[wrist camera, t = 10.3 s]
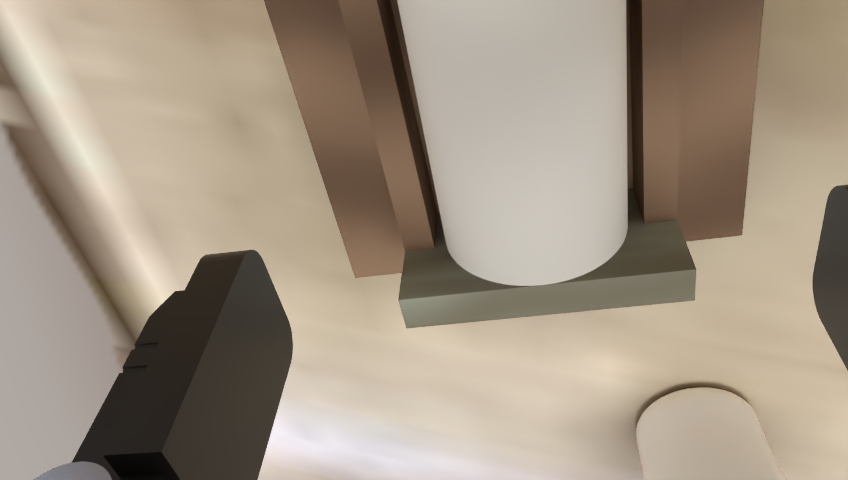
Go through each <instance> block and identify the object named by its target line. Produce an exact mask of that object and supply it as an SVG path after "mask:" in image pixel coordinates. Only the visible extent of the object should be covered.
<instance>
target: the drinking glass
mask: <svg viewBox="0 0 848 480" xmlns="http://www.w3.org/2000/svg"><path fill="white" fill-rule="evenodd" d="M636 440H637V446H638V451H639V456H640V460H641V465H642V470H643V478H644V480H786V479H785V477H784V475H783V473H782V471H781V469H780V467H779V465H778V463H777V461H776V459H775V457H774V455H773V453H772V451H771V448H770V446H769V444H768V441H767V439H766V436H765V434H764V431H763V429H762V426H761V424H760V421H759V419H758V417H757V415H756V413H755V411H754V410H753V408H752V407H751V406H750V405H749V404H748V403H747V402H746V401H745V400H744V399H742V398H741V397H739V396H738V395H736V394H734V393H731V392H729V391H726V390H722V389H717V388H709V387H697V388H688V389H683V390H679V391H675V392H672V393H670V394H667V395H665V396H663V397H661V398H659V399H658V400H656V401H655V402H653V403H652V404H651V405H650V406H649V407H648V408H647V409H646V410H645V411H644V412H643V414H642V415H641V417H640V419H639V421H638V424H637V428H636Z"/></svg>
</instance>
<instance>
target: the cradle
mask: <svg viewBox="0 0 848 480" xmlns="http://www.w3.org/2000/svg"><path fill="white" fill-rule="evenodd" d="M264 2H265V5H266V8H267V11H268V14H269V17H270V20H271V23H272V26H273V29H274V32H275V35H276V38H277V41H278V44H279V47H280V50H281V53H282V56H283V59H284V62H285V66H286V69H287V72H288V75H289V78H290V81H291V84H292V87H293V90H294V93H295V96H296V99H297V102H298V105H299V108H300V111H301V114H302V117H303V120H304V123H305V126H306V129H307V132H308V135H309V139H310V142H311V145H312V148H313V151H314V154H315V157H316V160H317V163H318V166H319V169H320V172H321V175H322V178H323V181H324V184H325V187H326V190H327V193H328V196H329V199H330V202H331V205H332V208H333V212H334V215H335V218H336V221H337V224H338V227H339V230H340V233H341V236H342V239H343V242H344V245H345V248H346V251H347V254H348V257H349V260H350V263H351V266H352V269H353V272H354V275H355V278H359V277H368V276H377V275H386V274H395V273H402V278H401V285H400V293H399V304H400V307H401V311H402V314H403V318H404V321H405V325H406V328H414V327H425V326H435V325H445V324H456V323H466V322H476V321H487V320H497V319H507V318H518V317H528V316H538V315H549V314H559V313H569V312H580V311H590V310H600V309H611V308H621V307H631V306H642V305H652V304H662V303H672V302H683V301H693V300H695V282H696V268H695V265H694V262H693V260H692V257H691V255H690V252H689V249H688V247H687V244H686V242H685V241H694V240H703V239H712V238H721V237H730V236H739V235H742V229H743V218H744V208H745V197H746V186H747V176H748V165H749V154H750V143H751V133H752V122H753V111H754V100H755V90H756V79H757V68H758V58H759V47H760V36H761V25H762V15H763V4H764V0H626V49H627V188H628V230H627V235H626V238H625V240H624V242H623V244H622V246H621V247H620V248H619V250H618V251H617V252H616V253H615V254H614V255H613V256H612V257H611V258H610V259H609V260H608V261H606V262H605V263H604V264H603V265H601V266H599V267H598V268H596V269H594V270H593V271H590V272H588V273H586V274H584V275H582V276H579V277H576V278H573V279H570V280H567V281H563V282H559V283H553V284H547V285H537V286H516V285H506V284H501V283H495V282H492V281H488V280H485V279H482V278H480V277H477V276H475V275H473V274H471V273H470V272H468V271H466V270H465V269H463V268H462V267H461V266H460V265H458V264H457V263H456V261H455V260H454V259H453V258H452V256H451V255H450V253H449V251H448V248H447V245H446V241H445V236H444V231H443V226H442V221H441V216H440V211H439V206H438V201H437V196H436V191H435V186H434V181H433V176H432V171H431V166H430V162H429V157H428V152H427V147H426V142H425V137H424V132H423V127H422V122H421V117H420V112H419V107H418V102H417V97H416V92H415V87H414V82H413V77H412V72H411V67H410V62H409V57H408V52H407V47H406V42H405V37H404V32H403V27H402V22H401V17H400V12H399V7H398V2H397V0H264Z"/></svg>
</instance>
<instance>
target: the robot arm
mask: <svg viewBox="0 0 848 480" xmlns="http://www.w3.org/2000/svg"><path fill="white" fill-rule="evenodd" d="M813 295H814V301H815V305H816V309H817V312H818V315H819V317H820V319H821V321H822V323H823V325H824V327H825V329H826V331H827V333H828V335H829V336H830V338H831V340H832V342H833V344H834V346H835V348H836V349H837V351H838V353H839V355H840V357H841V359H842V361H843V362H844V364H845V366H846V368H847V370H848V185H842V186H836V187H834V188H833V189H832V190H831V192H830V194H829V196H828V199H827V204H826V209H825V214H824V220H823V225H822V230H821V235H820V241H819V246H818V251H817V256H816V262H815V267H814V272H813ZM292 350H293V342H292V332H291V327H290V324H289V321H288V318H287V316H286V314H285V311H284V309H283V306H282V304H281V302H280V299H279V297H278V295H277V292H276V290H275V288H274V285H273V283H272V280H271V278H270V276H269V273H268V271H267V269H266V266H265V264H264V262H263V259H262V258H261V256H260V255H259V253H258V252H256V251H255V250H246V251H237V252H228V253H219V254H210V255H205V256H203V257H202V258H201V259H200V261H199V263H198V265H197V267H196V269H195V271H194V273H193V275H192V277H191V279H190V281H189V283H188V285H187V287H186V289H185V290H184V291H175V292H174V293H173V294H172V295H171V296H170V297H169V298H168V299H167V300H166V301H165V302H164V303H163V304H162V305H161V306H160V307H159V308H158V309H157V310H156V311H155V312H154V313H153V314H152V315H151V316H150V317H149V319H148V321H147V322H146V324H145V326H144V328H143V330H142V332H141V334H140V336H139V337H138V339H137V341H136V343H135V350H132V351H131V352H130V354H129V356H128V358H127V360H126V362H125V364H124V366H123V373H119V375H118V377H117V379H116V381H115V383H114V384H113V386H112V388H111V390H110V392H109V394H108V396H107V398H106V399H105V402H104V403H103V405H102V407H101V409H100V411H99V413H98V414H97V416H96V418H95V420H94V422H93V424H92V426H91V428H90V429H89V431H88V433H87V435H86V437H85V439H84V441H83V442H82V444H81V446H80V448H79V450H78V452H77V454H76V456H75V457H74V459H73V461H72V463H69V464H65V465H61V466H59V467H56V468H53V469H51V470H49V471H47V472H46V473H43V474H42V475H40V476H39V477H37V478H35V479H34V480H257V479H258V475H259V472H260V468H261V465H262V461H263V458H264V455H265V451H266V448H267V444H268V441H269V437H270V434H271V430H272V427H273V423H274V420H275V416H276V413H277V409H278V406H279V402H280V399H281V395H282V392H283V388H284V385H285V381H286V378H287V374H288V371H289V367H290V364H291V359H292Z"/></svg>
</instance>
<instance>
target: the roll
mask: <svg viewBox="0 0 848 480" xmlns="http://www.w3.org/2000/svg"><path fill="white" fill-rule="evenodd" d="M397 2H398V7H399V12H400V17H401V22H402V27H403V32H404V37H405V42H406V47H407V52H408V57H409V62H410V67H411V72H412V77H413V82H414V87H415V92H416V97H417V102H418V107H419V112H420V117H421V122H422V127H423V132H424V137H425V142H426V147H427V152H428V157H429V162H430V166H431V171H432V176H433V181H434V186H435V191H436V196H437V201H438V206H439V211H440V216H441V221H442V226H443V231H444V236H445V241H446V245H447V248H448V251H449V253H450V255H451V256H452V258H453V259H454V260H455V261H456V263H457V264H458V265H460V266H461V267H462V268H463V269H465V270H466V271H468V272H470V273H471V274H473V275H475V276H477V277H480V278H482V279H485V280H488V281H492V282H495V283H501V284H506V285H516V286H537V285H547V284H553V283H559V282H563V281H567V280H570V279H573V278H576V277H579V276H582V275H584V274H586V273H588V272H590V271H593V270H594V269H596V268H598V267H599V266H601V265H603V264H604V263H605V262H606V261H608V260H609V259H610V258H611V257H612V256H613V255H614V254H615V253H616V252H617V251H618V250H619V248H620V247H621V246H622V244H623V242H624V240H625V238H626V235H627V230H628V188H627V49H626V0H397Z"/></svg>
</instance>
